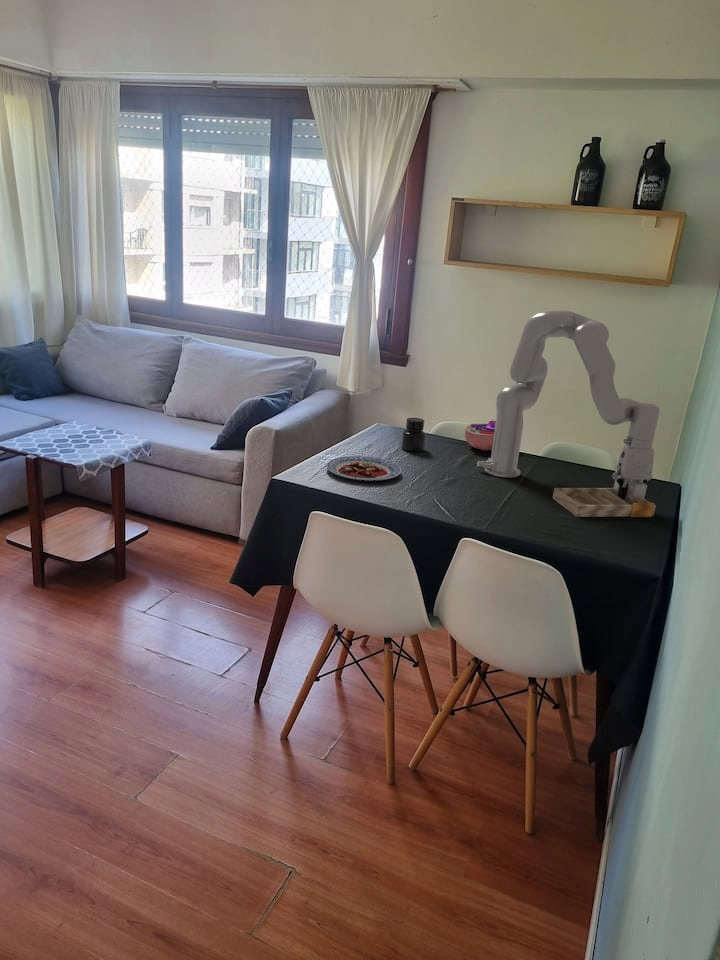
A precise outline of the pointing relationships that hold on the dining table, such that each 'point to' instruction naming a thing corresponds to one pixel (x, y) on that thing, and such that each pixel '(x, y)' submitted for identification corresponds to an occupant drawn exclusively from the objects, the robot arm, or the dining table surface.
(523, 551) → the dining table surface
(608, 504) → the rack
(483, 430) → the cell model
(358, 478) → the ceramic plate
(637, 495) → the grey block
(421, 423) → the ink bottle
